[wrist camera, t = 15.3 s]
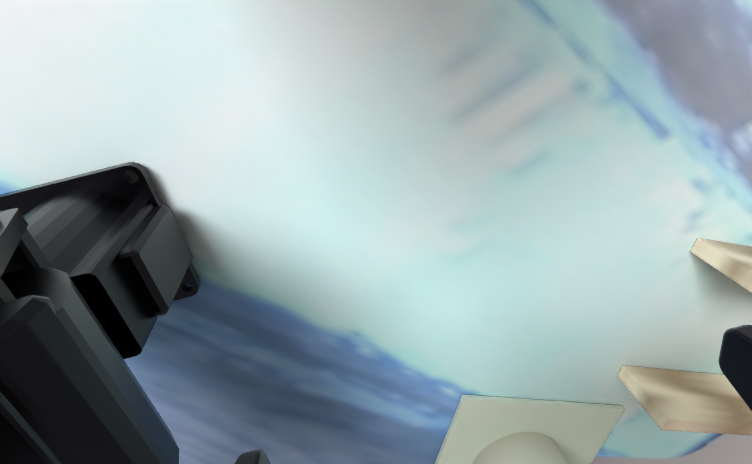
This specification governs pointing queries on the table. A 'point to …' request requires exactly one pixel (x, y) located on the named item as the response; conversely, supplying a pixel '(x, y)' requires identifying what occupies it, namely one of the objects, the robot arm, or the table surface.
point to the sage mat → (527, 426)
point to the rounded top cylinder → (522, 450)
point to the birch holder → (695, 389)
